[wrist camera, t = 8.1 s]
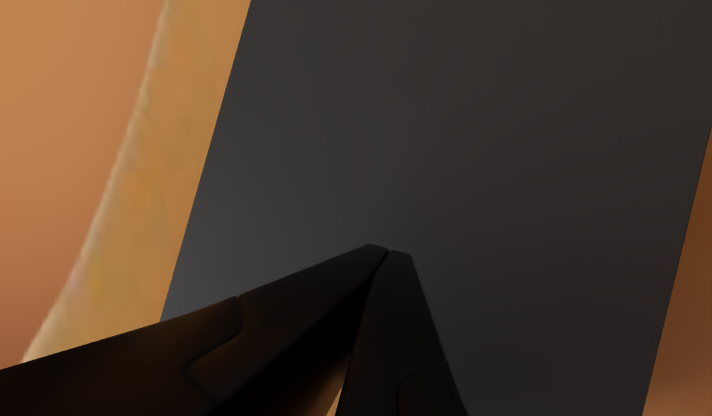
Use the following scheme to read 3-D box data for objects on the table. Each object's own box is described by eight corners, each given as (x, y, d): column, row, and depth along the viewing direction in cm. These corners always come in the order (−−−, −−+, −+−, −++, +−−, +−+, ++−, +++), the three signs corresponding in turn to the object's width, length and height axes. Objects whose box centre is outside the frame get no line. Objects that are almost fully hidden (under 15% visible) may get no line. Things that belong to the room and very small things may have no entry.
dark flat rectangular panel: (291, -98, 15) (283, -117, 15) (738, -38, 13) (756, -57, 12) (172, 322, 15) (157, 326, 14) (615, 470, 12) (626, 485, 12)
